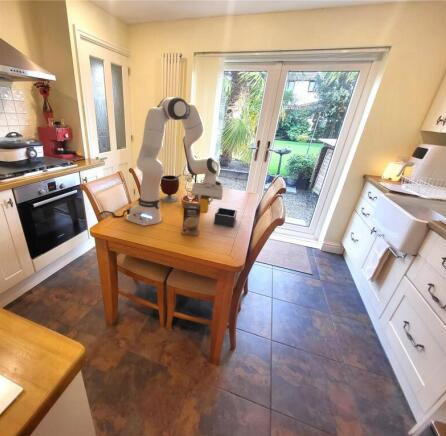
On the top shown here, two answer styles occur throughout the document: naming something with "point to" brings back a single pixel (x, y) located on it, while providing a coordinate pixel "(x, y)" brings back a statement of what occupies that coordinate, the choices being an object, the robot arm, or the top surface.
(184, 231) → the coffee box
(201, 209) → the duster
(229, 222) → the case
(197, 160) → the robot arm
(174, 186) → the mate gourd
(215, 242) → the top surface
